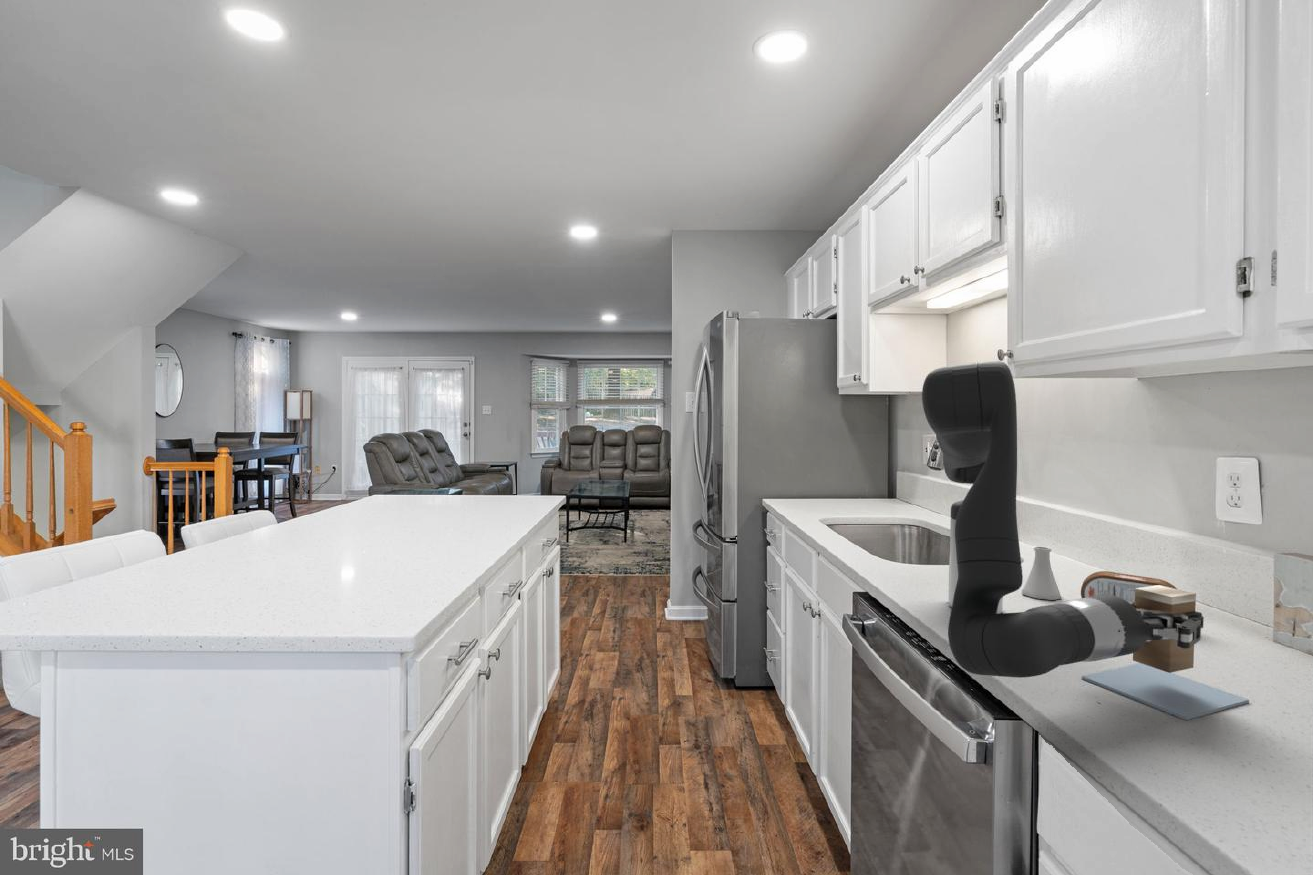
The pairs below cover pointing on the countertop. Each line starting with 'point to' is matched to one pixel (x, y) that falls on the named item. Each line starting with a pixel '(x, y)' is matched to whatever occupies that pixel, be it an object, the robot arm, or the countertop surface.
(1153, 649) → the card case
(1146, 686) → the mat
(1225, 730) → the countertop surface
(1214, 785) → the countertop surface
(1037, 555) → the flask
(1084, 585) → the tin
